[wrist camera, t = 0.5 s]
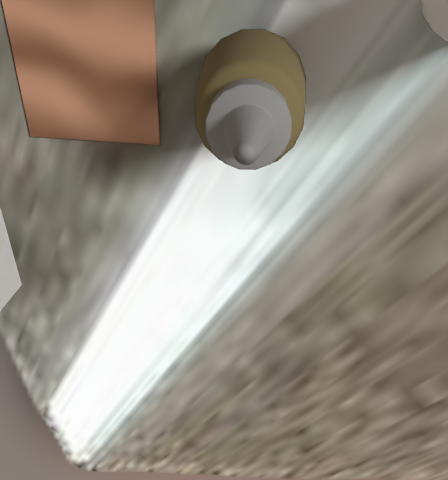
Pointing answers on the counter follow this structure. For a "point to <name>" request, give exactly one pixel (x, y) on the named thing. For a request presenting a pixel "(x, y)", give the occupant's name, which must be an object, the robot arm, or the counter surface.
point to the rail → (86, 68)
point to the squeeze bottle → (250, 99)
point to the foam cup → (436, 16)
